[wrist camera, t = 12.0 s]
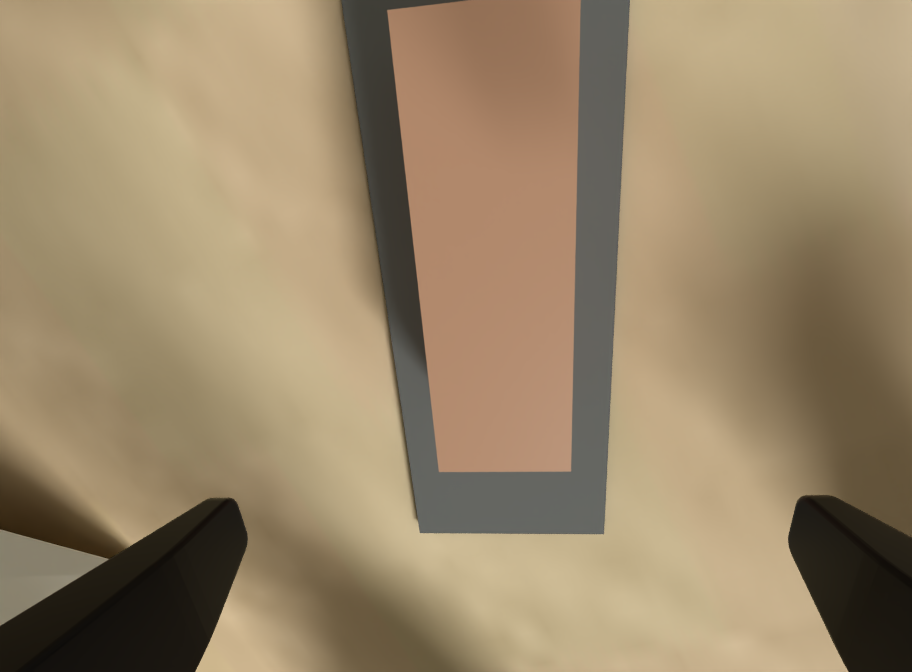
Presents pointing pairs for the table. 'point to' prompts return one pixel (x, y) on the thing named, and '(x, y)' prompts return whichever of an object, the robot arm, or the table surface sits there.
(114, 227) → the table surface
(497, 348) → the terracotta block
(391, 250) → the charcoal mat
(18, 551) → the folded paper
